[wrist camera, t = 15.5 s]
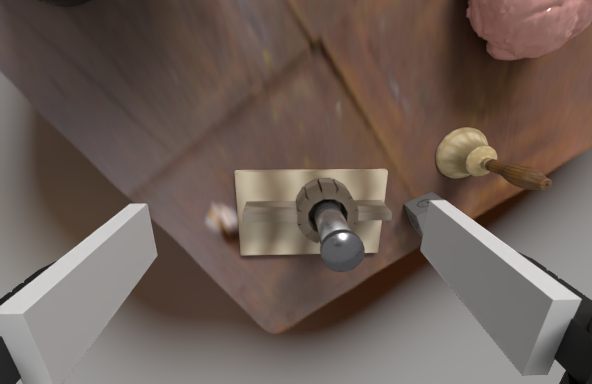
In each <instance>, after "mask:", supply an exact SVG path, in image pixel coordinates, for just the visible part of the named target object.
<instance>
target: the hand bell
mask: <svg viewBox="0 0 592 384" xmlns="http://www.w3.org/2000/svg"><path fill="white" fill-rule="evenodd" d="M436 164H437V167H438V169H439V170H440V172H441V173H442V174H444V175H445V176H447V177H450V178H463V177H467V176H469V175H474V176H482V175H485V174H487V173H489V172H490V171H491V172H494V173H497V174H500V175H501V176H503V177H504V178H505V179H506V180H507V181H508V182H510V183H511V184H513V185H515V186H518V187H520V188H524V189H539V190H548V189H549V188H550V187H551V186H552V181H551V180H550V179H548V178H546V177H545V176H544V175H543V174H542V173H541V172H540V171H538V170H537V169H535V168H532V167H529V166H526V165H521V164H505V163H503V162H501V161H498V160H497V154H496V152H495V150H494V149H493V148H491V147H489V146H488V142H487V139H486V137H485V136H484V134H483V133H482V132H481V131H479V130H477V129H475V128H471V127H464V128H459V129H456V130H454V131H452V132H450V133H449V134H448V135H447V136H445V137H444V139H443V140H442V141H441V143H440V144H439V146H438V148H437V151H436Z"/></svg>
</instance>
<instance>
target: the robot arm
mask: <svg viewBox="0 0 592 384" xmlns="http://www.w3.org/2000/svg"><path fill="white" fill-rule="evenodd" d="M40 1H43V2H46V3H49V4H53V5H59V6H73V5H78V4H82V3H84V2H87V1H88V0H40ZM420 250H421V252H422V253H423V254H424V256H425V257H426V258H427V259H428V261H429V262H430V263H431V264H432V265H433V267H434V268H435V269H436V270H437V272H438V273H439V274H440V275H441V277H442V278H443V279H444V280H445V281H446V283H447V284H448V285H449V286H450V288H451V289H452V290H453V291H454V292H455V294H456V295H457V296H458V297H459V299H460V300H461V301H462V302H463V303H464V305H465V306H466V307H467V308H468V310H469V311H470V312H471V313H472V315H473V316H474V317H475V318H476V319H477V321H478V322H479V323H480V324H481V326H482V327H483V328H484V329H485V330H486V332H487V333H488V334H489V335H490V337H491V338H492V339H493V340H494V341H495V343H496V344H497V345H498V346H499V348H500V349H501V350H502V351H503V353H504V354H505V355H506V356H507V358H508V359H509V360H510V361H511V362H512V364H513V365H514V366H515V367H516V369H517V370H518V371H519V372H520V373H521V375H522V376H524V375H548V373H549V371H550V368H551V366H552V364H553V361H554V360H555V359H556V360H557V361H558V362H559V363H560V364H561V366H562V367H563V368H564V369H565V370H566V371H565V373H564V375H563V377H562V379H561V381H560V383H559V384H592V300H590V299H589V298H587V297H586V296H585V295H583V294H582V293H580V292H579V291H578V290H576V289H575V288H573V287H572V286H570V285H569V284H568V283H566V282H565V281H563V280H562V279H558V277H557V276H556V275H555V274H553V273H552V272H550V271H547V269H546V268H545V267H544V266H542V265H541V264H539V263H538V262H536V261H535V260H533V259H532V258H529V257H527V256H525V255H523V254H521V253H519V252H516V251H515V250H513V249H512V248H511V247H509V246H508V245H506V244H505V243H504V242H502V241H501V240H500V239H498V238H497V237H495V236H494V235H493V234H491V233H490V232H489V231H487V230H486V229H484V228H483V227H482V226H480V225H479V224H477V223H476V222H475V221H473V220H472V219H471V218H469V217H468V216H466V215H465V214H464V213H462V212H461V211H460V210H458V209H457V208H455V207H454V206H453V205H451V204H450V203H449V202H447V201H446V200H430V201H429V206H428V211H427V217H426V222H425V228H424V233H423V238H422V244H421V249H420ZM156 257H157V251H156V245H155V240H154V235H153V230H152V225H151V220H150V215H149V210H148V205H147V204H129V205H128V206H127V207H126V208H124V209H123V210H122V211H120V212H119V213H118V214H117V215H115V216H114V217H113V218H112V219H110V220H109V221H108V222H106V223H105V224H104V225H103V226H101V227H100V228H99V229H98V230H96V231H95V232H94V233H92V234H91V235H90V236H89V237H87V238H86V239H85V240H84V241H82V242H81V243H80V244H79V245H77V246H76V247H75V248H73V249H72V250H71V251H70V252H68V253H67V254H66V255H64V256H63V257H62V258H61V259H59V260H58V261H55V262H53V263H52V264H50V265H48V266H46V267H44V268H42V269H40V270H38V271H37V272H35V273H34V274H33V275H31V276H30V277H29V278H27V279H26V280H25V281H24V283H21V284H19V285H18V286H17V287H16V288H14V289H13V290H12V292H9V293H8V294H6V295H5V296H4V297H3V298H1V299H0V384H16V383H17V381H18V380H19V379H21V381H22V382H23V384H64V382H65V381H66V379H67V378H68V377H69V375H70V374H71V372H72V371H73V370H74V368H75V367H76V366H77V365H78V363H79V362H80V360H81V359H82V358H83V356H84V355H85V354H86V352H87V351H88V349H89V348H90V347H91V345H92V344H93V343H94V341H95V340H96V339H97V337H98V336H99V334H100V333H101V332H102V330H103V329H104V328H105V326H106V325H107V324H108V322H109V321H110V319H111V318H112V317H113V315H114V314H115V313H116V311H117V310H118V308H119V307H120V306H121V304H122V303H123V302H124V300H125V299H126V298H127V296H128V295H129V294H130V292H131V291H132V289H133V288H134V287H135V285H136V284H137V283H138V281H139V280H140V279H141V277H142V276H143V274H144V273H145V272H146V270H147V269H148V268H149V266H150V265H151V264H152V262H153V261H154V259H155V258H156Z"/></svg>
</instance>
